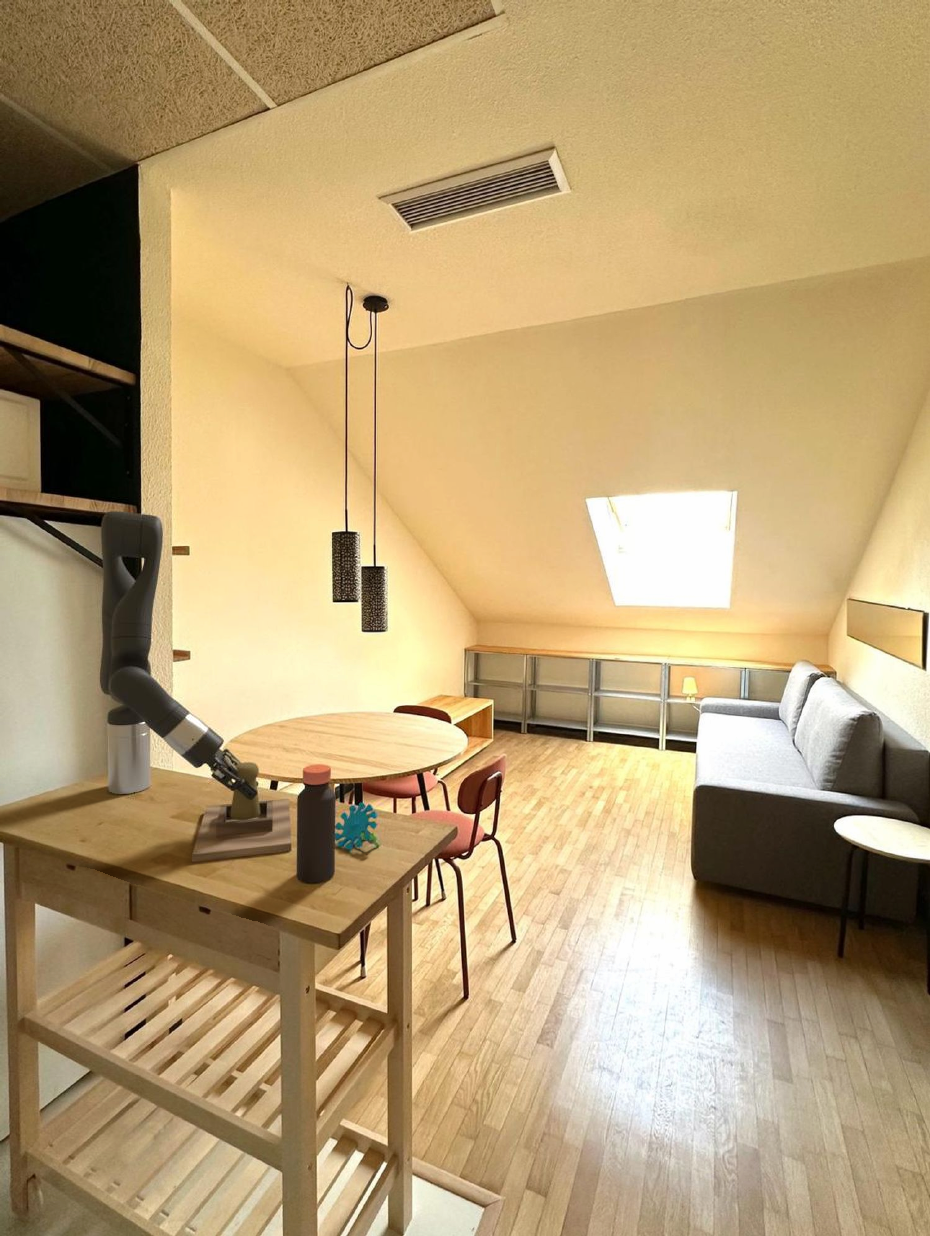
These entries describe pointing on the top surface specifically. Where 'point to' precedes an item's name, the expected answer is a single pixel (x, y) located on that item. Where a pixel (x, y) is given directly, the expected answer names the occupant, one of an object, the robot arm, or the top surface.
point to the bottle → (316, 826)
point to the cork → (240, 803)
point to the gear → (357, 827)
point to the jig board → (243, 832)
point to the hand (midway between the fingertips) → (254, 791)
